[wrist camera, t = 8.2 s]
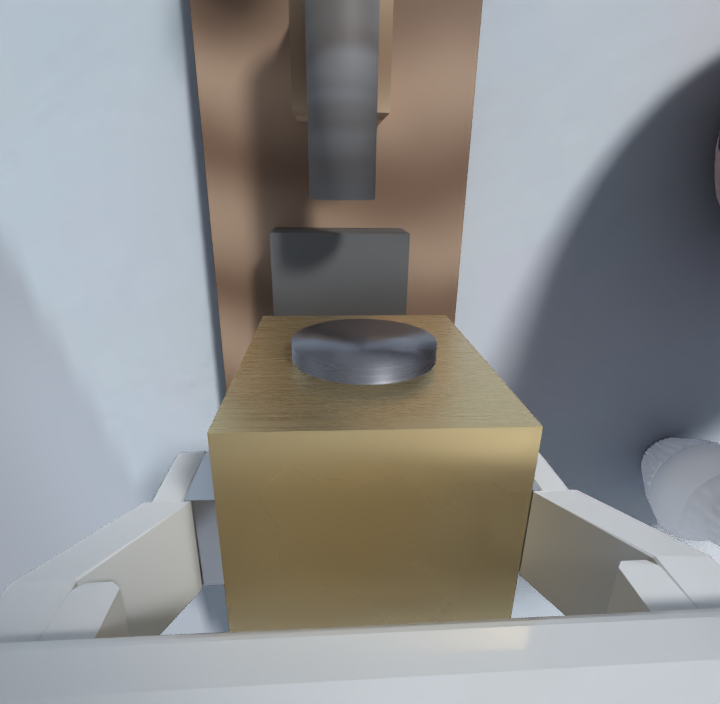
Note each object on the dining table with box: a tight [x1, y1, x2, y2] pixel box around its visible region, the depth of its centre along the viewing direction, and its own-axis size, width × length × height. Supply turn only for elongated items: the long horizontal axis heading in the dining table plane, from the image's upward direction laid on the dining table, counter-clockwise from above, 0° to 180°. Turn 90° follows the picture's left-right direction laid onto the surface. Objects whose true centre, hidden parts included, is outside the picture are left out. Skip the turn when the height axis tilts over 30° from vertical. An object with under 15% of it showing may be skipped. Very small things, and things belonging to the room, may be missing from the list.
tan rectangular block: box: [207, 315, 543, 632], centre depth 9 cm, size 7×4×5 cm, turn 179°
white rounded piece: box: [641, 437, 720, 546], centre depth 27 cm, size 6×6×7 cm
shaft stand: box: [190, 0, 483, 393], centre depth 21 cm, size 28×12×8 cm, turn 179°
